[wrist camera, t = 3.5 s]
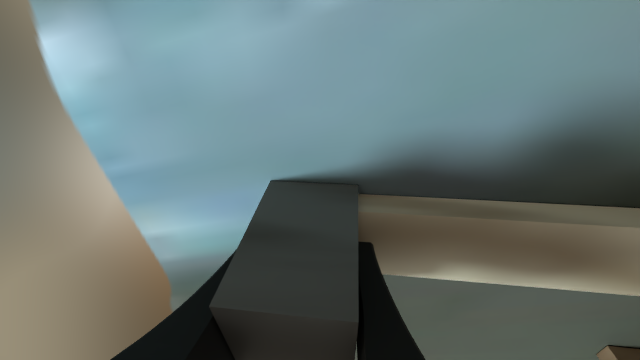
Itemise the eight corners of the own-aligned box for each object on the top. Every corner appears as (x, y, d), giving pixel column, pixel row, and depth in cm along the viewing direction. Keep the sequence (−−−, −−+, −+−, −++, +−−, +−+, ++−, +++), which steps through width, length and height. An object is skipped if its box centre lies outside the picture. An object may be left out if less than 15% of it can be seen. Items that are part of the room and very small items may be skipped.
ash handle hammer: (617, 279, 13) (781, 453, 8) (282, 253, 15) (244, 378, 10) (699, 200, 10) (1034, 395, 5) (270, 180, 12) (208, 306, 7)
